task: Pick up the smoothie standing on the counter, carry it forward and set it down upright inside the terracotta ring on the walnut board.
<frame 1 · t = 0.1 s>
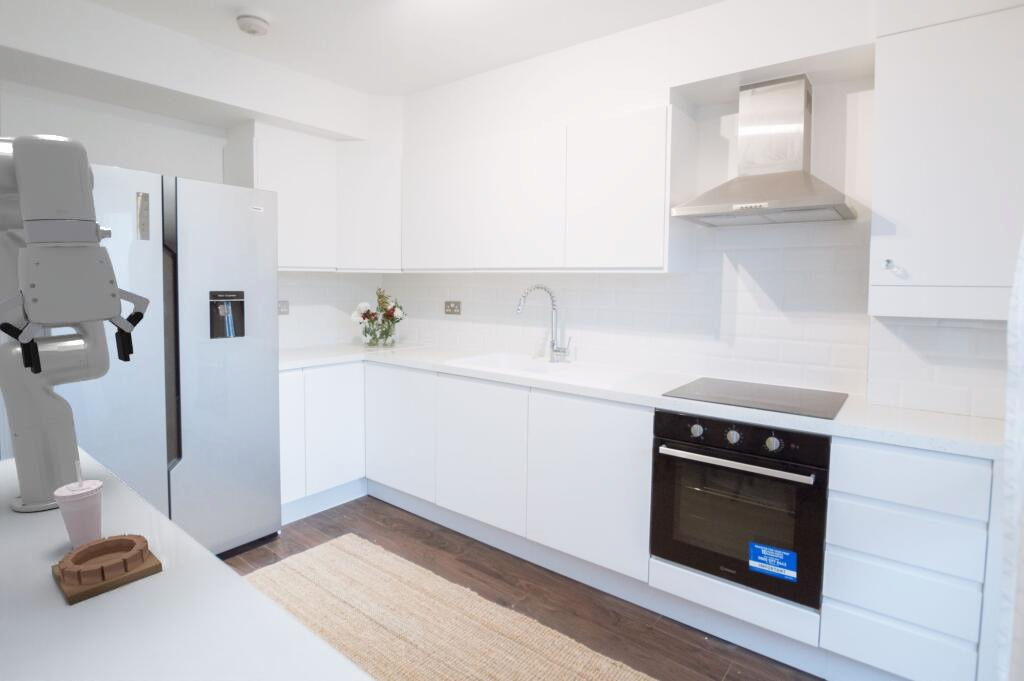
hand: (82, 366, 77), 31 cm above the countertop, tool pointing down, fingers open, 9 cm apart
ring board: (107, 572, 84), on the countertop
smoothie: (87, 545, 93), on the countertop
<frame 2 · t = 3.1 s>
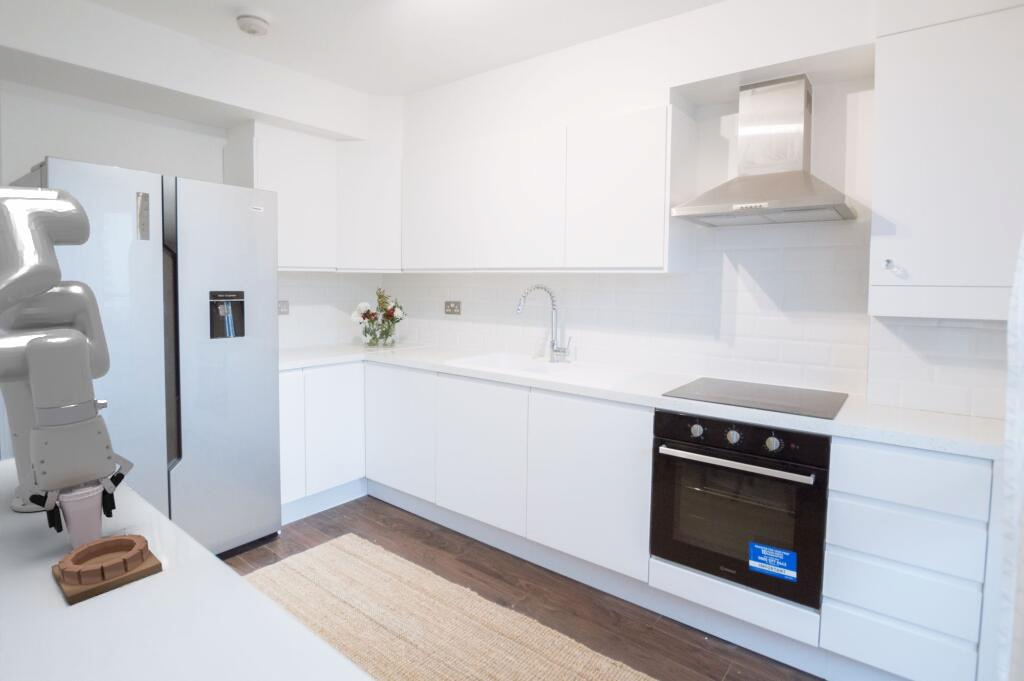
hand: (83, 521, 92), 4 cm above the countertop, tool pointing down, fingers closed on smoothie, 5 cm apart
smoothie: (87, 545, 93), on the countertop, touching gripper
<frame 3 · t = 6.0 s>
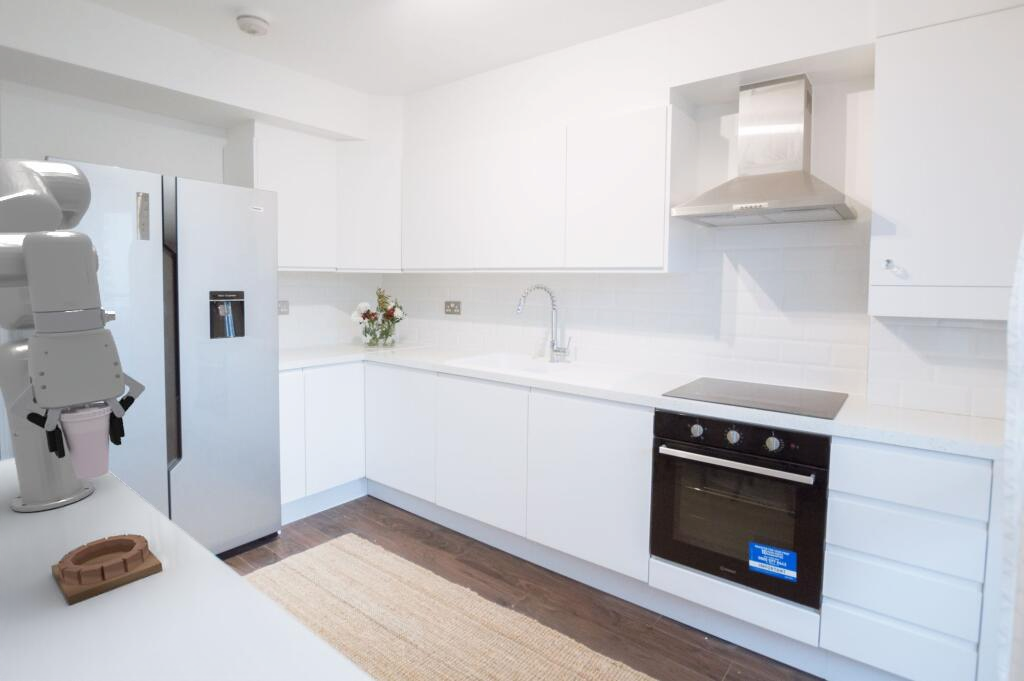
hand: (88, 448, 81), 19 cm above the countertop, tool pointing down, fingers closed on smoothie, 5 cm apart
smoothie: (92, 475, 82), point 15 cm above the countertop, touching gripper
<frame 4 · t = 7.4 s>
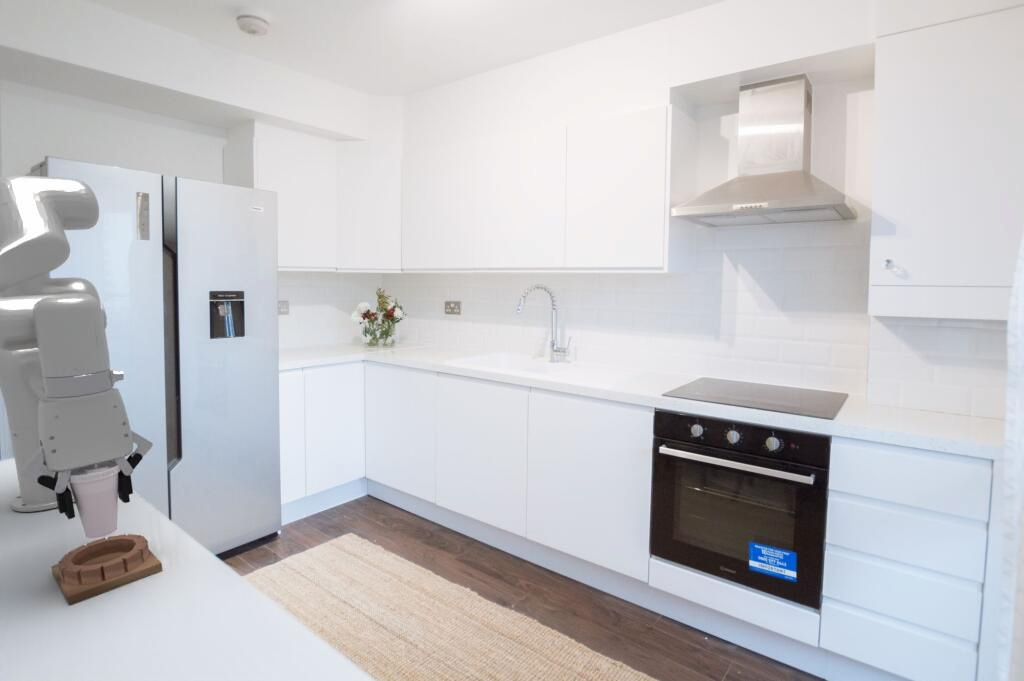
hand: (97, 506, 82), 10 cm above the countertop, tool pointing down, fingers closed on smoothie, 5 cm apart
smoothie: (101, 533, 83), point 6 cm above the countertop, touching gripper
when the fingers open (6 cm above the countertop, at t = 8.8 s): smoothie stays where it is, resting on ring board.
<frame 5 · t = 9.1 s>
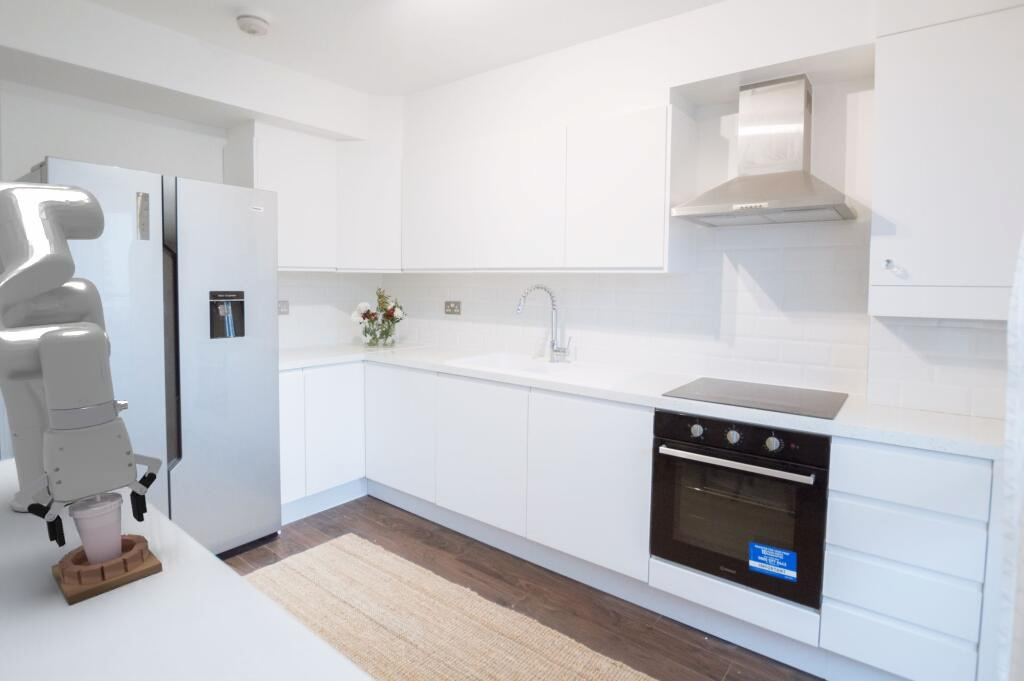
hand: (101, 530, 83), 6 cm above the countertop, tool pointing down, fingers open, 9 cm apart
smoothie: (106, 564, 84), point 1 cm above the countertop, touching ring board
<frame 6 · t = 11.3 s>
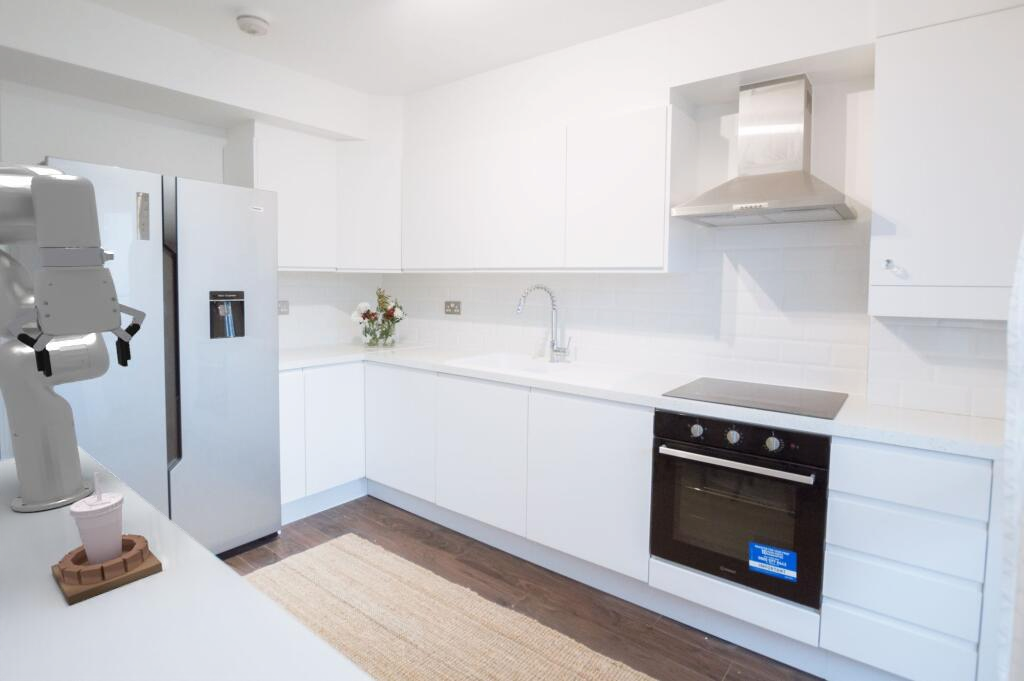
hand: (86, 370, 89), 28 cm above the countertop, tool pointing down, fingers open, 9 cm apart
nothing on the countertop moved.
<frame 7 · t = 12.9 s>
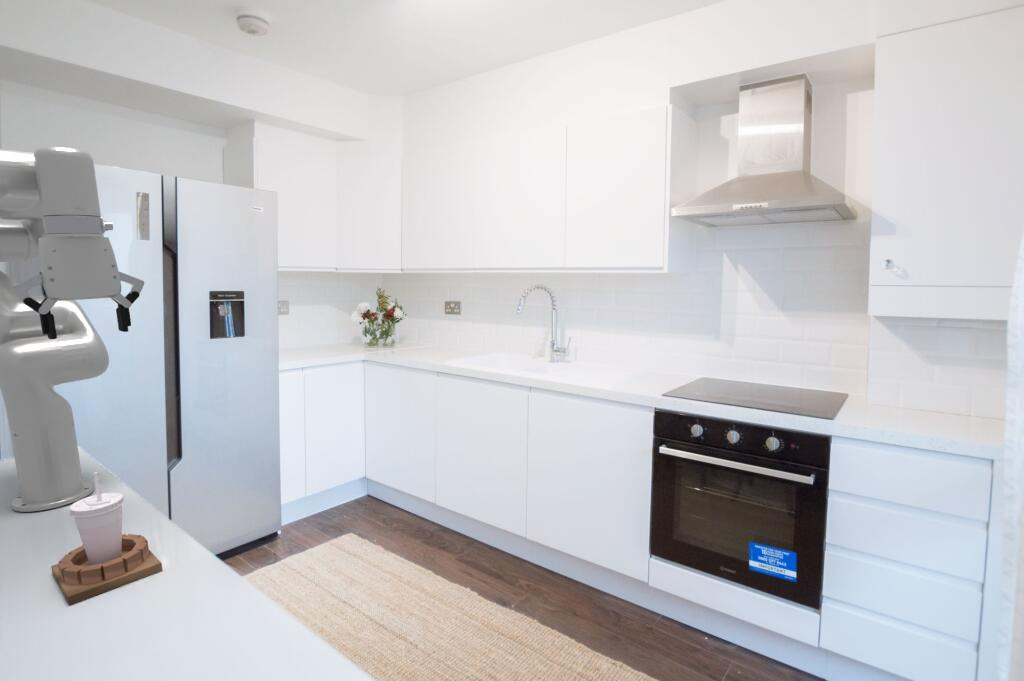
hand: (89, 334, 94), 33 cm above the countertop, tool pointing down, fingers open, 9 cm apart
nothing on the countertop moved.
at the end: smoothie 0.2 cm off-centre on the ring board, point 1.0 cm above the ring board's base; smoothie tilted 0°; the gripper is holding nothing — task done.
